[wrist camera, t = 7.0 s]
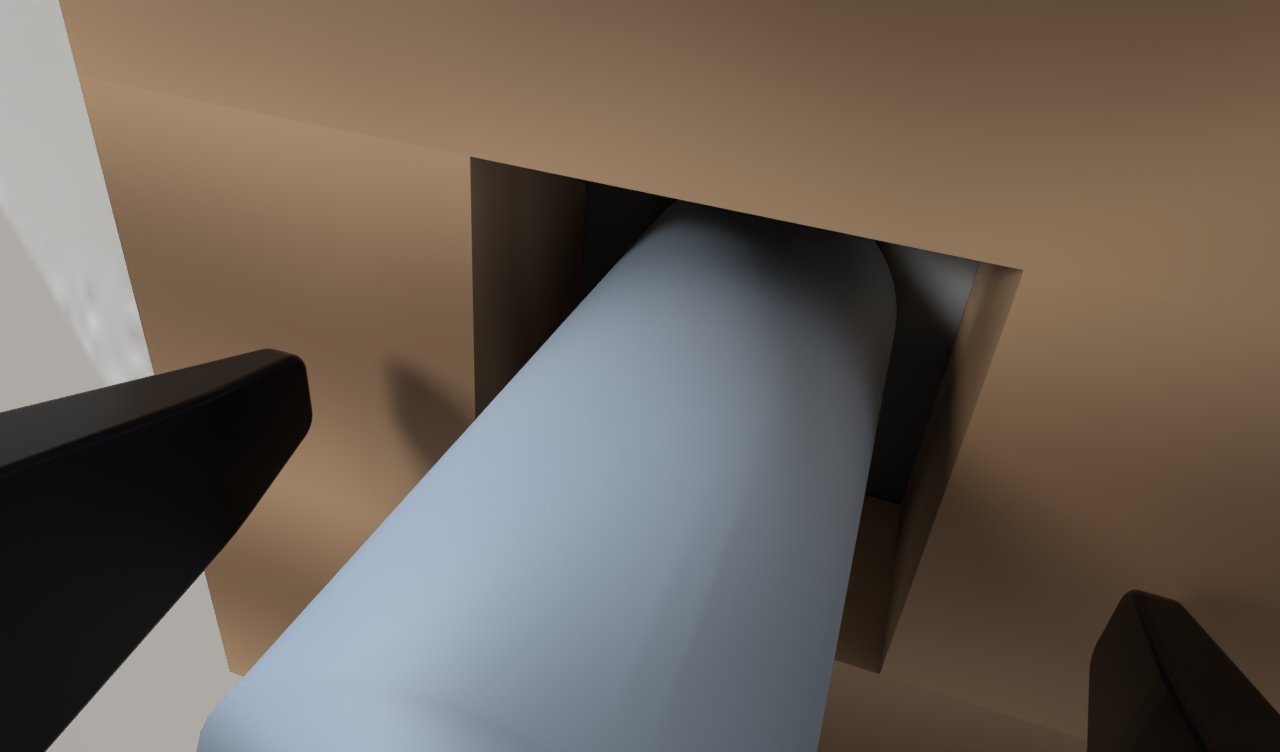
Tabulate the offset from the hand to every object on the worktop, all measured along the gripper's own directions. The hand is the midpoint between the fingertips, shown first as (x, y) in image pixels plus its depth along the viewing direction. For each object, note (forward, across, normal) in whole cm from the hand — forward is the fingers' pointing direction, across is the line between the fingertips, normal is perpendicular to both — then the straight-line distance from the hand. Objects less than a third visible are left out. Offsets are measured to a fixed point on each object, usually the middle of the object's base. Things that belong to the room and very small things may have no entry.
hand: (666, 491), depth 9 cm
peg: (+4, 0, 0) cm, 4 cm away
